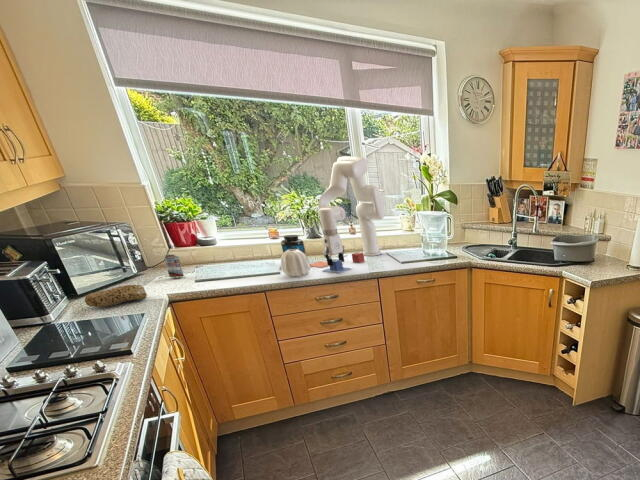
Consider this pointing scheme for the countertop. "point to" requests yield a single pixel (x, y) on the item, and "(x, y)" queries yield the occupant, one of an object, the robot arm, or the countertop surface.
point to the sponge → (115, 296)
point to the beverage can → (173, 266)
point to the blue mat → (336, 271)
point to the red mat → (319, 264)
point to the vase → (295, 263)
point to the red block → (358, 257)
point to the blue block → (336, 265)
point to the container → (292, 243)
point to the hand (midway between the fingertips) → (336, 263)
